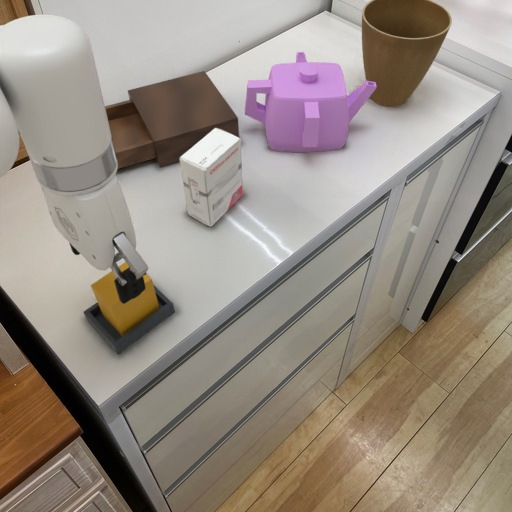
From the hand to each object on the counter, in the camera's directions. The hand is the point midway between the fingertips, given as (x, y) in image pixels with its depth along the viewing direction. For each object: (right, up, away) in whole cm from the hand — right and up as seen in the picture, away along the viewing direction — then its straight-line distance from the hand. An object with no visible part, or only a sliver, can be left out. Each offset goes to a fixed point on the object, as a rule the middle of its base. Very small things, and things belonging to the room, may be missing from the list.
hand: (108, 271), depth 63 cm
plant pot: (+43, +32, +39) cm, 67 cm away
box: (+1, -6, +8) cm, 10 cm away
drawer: (-7, +21, +29) cm, 36 cm away
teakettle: (+26, +25, +33) cm, 49 cm away
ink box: (+11, +10, +21) cm, 26 cm away
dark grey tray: (+1, -6, +8) cm, 10 cm away
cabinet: (+5, +24, +33) cm, 41 cm away
